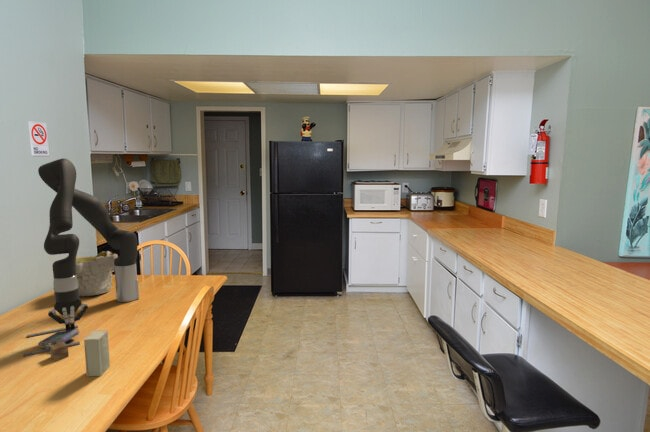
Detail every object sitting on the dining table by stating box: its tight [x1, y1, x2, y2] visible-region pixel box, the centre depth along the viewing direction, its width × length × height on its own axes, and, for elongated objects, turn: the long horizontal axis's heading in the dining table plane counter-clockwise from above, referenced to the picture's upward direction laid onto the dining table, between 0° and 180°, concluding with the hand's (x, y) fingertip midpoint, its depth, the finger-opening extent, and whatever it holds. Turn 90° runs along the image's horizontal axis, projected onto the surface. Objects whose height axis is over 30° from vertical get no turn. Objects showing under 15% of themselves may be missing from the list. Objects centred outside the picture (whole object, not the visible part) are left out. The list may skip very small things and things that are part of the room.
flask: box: [37, 328, 80, 349], centre depth 137 cm, size 9×3×11 cm
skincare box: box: [83, 330, 111, 377], centre depth 119 cm, size 6×4×12 cm
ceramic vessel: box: [76, 250, 119, 297], centre depth 193 cm, size 23×24×25 cm
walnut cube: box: [49, 342, 69, 362], centre depth 129 cm, size 4×4×4 cm
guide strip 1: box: [26, 324, 79, 338], centre depth 148 cm, size 16×2×1 cm, turn 125°
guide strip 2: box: [23, 341, 81, 357], centre depth 134 cm, size 16×2×1 cm, turn 125°
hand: (70, 332), depth 144 cm, fingers closed
